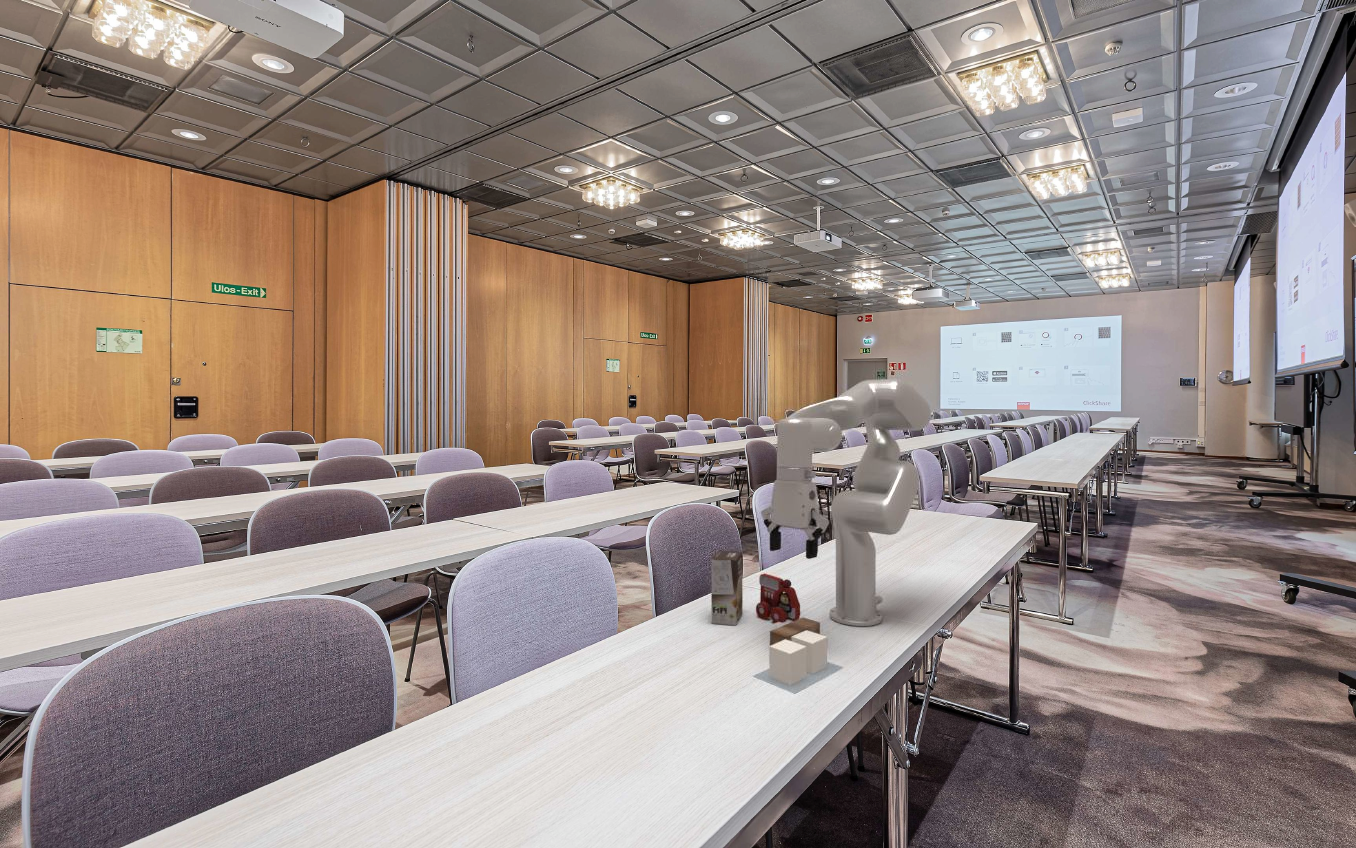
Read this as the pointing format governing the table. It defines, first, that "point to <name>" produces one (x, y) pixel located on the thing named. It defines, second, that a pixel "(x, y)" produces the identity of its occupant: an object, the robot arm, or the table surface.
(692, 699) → the table surface
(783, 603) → the toy fire truck
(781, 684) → the slate board
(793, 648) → the cream pillar
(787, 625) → the walnut beam
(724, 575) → the coffee box
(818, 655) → the cream pillar
